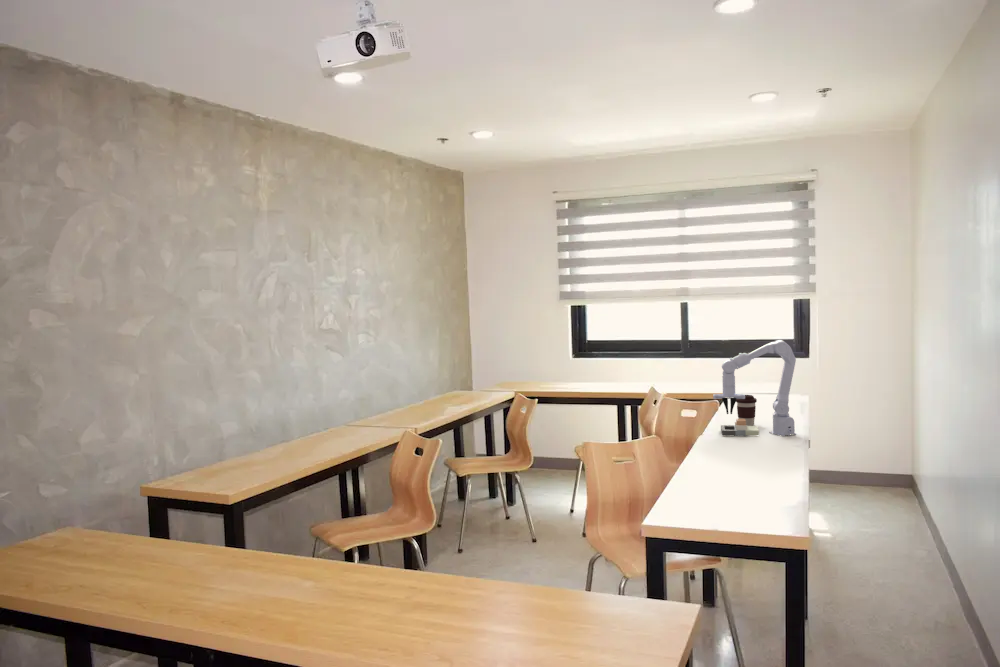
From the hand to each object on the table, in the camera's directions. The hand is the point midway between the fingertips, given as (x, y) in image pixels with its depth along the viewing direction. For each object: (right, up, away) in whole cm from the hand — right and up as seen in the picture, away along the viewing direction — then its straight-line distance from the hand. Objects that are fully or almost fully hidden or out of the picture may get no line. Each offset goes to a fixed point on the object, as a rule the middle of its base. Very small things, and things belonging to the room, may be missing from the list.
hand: (729, 413), depth 353 cm
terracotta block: (+5, -7, -1) cm, 9 cm away
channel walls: (+5, -7, -1) cm, 9 cm away
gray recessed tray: (+2, -9, 0) cm, 10 cm away
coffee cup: (+14, -8, +17) cm, 23 cm away
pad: (+10, -9, -2) cm, 14 cm away
